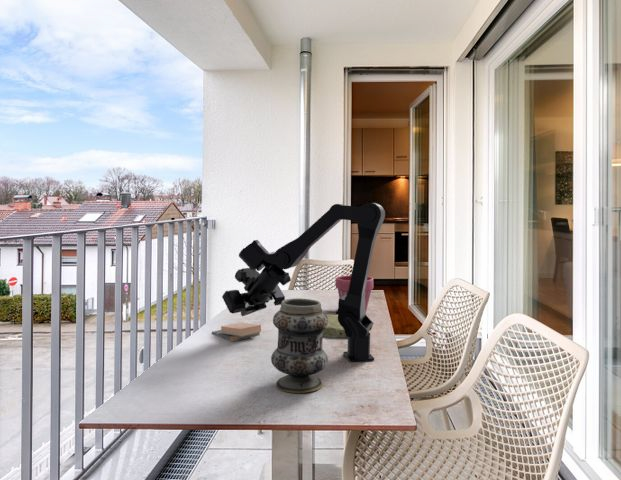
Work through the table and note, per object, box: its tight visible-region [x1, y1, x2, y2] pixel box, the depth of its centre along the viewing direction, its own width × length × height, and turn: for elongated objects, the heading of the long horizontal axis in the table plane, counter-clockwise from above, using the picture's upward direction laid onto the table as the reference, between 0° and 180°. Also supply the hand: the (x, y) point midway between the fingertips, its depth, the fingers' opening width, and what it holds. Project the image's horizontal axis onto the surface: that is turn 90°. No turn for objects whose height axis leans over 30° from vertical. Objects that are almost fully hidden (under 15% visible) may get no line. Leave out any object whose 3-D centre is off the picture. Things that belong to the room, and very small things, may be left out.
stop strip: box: [229, 332, 261, 343], centre depth 129 cm, size 1×10×1 cm, turn 135°
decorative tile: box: [323, 313, 348, 339], centre depth 140 cm, size 19×20×4 cm
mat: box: [211, 329, 234, 341], centre depth 133 cm, size 10×9×1 cm
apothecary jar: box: [270, 297, 329, 394], centre depth 94 cm, size 12×12×18 cm
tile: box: [220, 321, 262, 337], centre depth 130 cm, size 2×7×10 cm
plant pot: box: [334, 275, 375, 314], centre depth 164 cm, size 14×14×13 cm
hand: (242, 314), depth 129 cm, fingers closed
